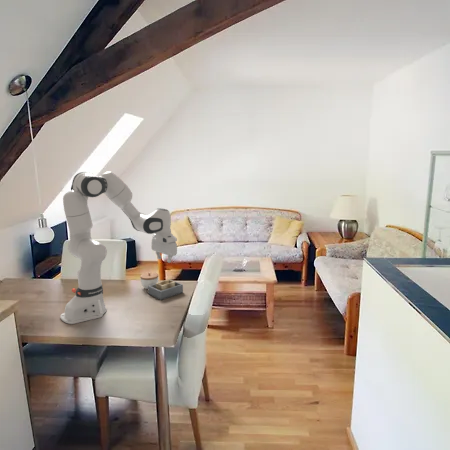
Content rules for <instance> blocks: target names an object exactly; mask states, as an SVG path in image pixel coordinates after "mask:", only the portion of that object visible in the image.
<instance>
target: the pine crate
mask: <svg viewBox="0 0 450 450" xmlns="http://www.w3.org/2000/svg"><path fill="white" fill-rule="evenodd" d="M174 281H175V280H173V281H172V279H167V280H162V281H158V283H156V289H158V290H160V291H162V290H166V289H169V288H172V287H175V282H176V281H175V282H174Z"/></svg>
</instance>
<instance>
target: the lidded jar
mask: <svg viewBox="0 0 450 450" xmlns="http://www.w3.org/2000/svg"><path fill="white" fill-rule="evenodd" d="M139 276H140V277H139V278H140V283H141V286H142V287H143V288H144V289H145V290H148V286H150V285H153V284H156V283H158V282H159V274H158V273H156V272H151V271H149V272H144V273H142V274H141V275H139Z"/></svg>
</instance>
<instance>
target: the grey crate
mask: <svg viewBox="0 0 450 450" xmlns="http://www.w3.org/2000/svg"><path fill="white" fill-rule="evenodd" d="M171 280H172V279H171ZM172 281H174V282H175V287H172V288H169V289H166V290H162V291H160V290H158V289H156V284H153V285H150V286H148V289H147V291H148V295H149V296H151V297H153V298H156V299H158V300H160V301H162V300H166V299H169V298H172V297H174V296H178V295H181V294H183V293H184V285H183V284H182V283H180V282H177V281H175V280H172Z"/></svg>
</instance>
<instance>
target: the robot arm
mask: <svg viewBox="0 0 450 450" xmlns="http://www.w3.org/2000/svg"><path fill="white" fill-rule="evenodd" d="M71 183H72V184H71V187H70V191H66V192H65V194H64V195H63V198H62V201H63V210H64V216H65V219H66V222H67V226H68V229H69V230H68V231H69V242H68V244H67V250H68V252H69V253H70V254H71V255H72V256H73V257H75V258H77V259H79V260H80V262H81V263H80V268H79V270H78V271H77V283H78V287H77V288H71V292H72V293H74V294H75V295H74V296H73V297H72V298H71V299H70V300H69V301H68V302H67V303H66V304H65V306H64V307H65V308H64V312H63V313H61V314H60V316H59V317H60V319H61V321H62V322H64V323H66V324H69V325H74V324H78V323H82V322H88V321H91V320H95V319H100V318H102V317H103V316H104V314H105V313H106V312H107V311H108V309H107V307H106V303H105V301H104V295H103V294H104V288H103V284H102V275H101V274H102V273H101V271H102V270H101V269H102V264H103V261H104V260H105V259H106V257H107V254H108V249H107V247H106V246H105V245H104V244H103V243H102V242H100V241H98V240H95V239H93V238H92V235H91V229H92V228H93V220H92V216H91V213H90V212H91V211H90V209H89V206H88V200H89V198H97V197H99V196H100V195H102V194H104V195H105V196H106V197H107V198H108V199H109V200H110V201H111V202H112V203H113V204H115V205H116V206H117V207H118V208H120V210H122V212H123V213H124V215H126V217H127V218H128V219H129V221H130V223H131V226H132V228H133V229H134V230H136V231H137V232H142V233H145V234H148V235H153V236H152V239H151V250H152V251H153V252H155V254H156V256H157V259H158V260H162V255H161V254H164V255H166V256H167V259H166V262H167V263H169V264H170V263H171V262H172V258H173V257H174V256H177V254H178V245H177V241H178V239H177V237H176V236H175V235H174V234H173V233H172V229H171V225H172V219H171V213H170V211H169V210H168V209H165V208H162V207H161V208H159V207H158V208H155V209H154V211H153V212H151V213H150V214H146V213H142V212H140V211H139V210H138V209H137V208H136V206H134V204H133V203H132V202H131V201H132V199H133V192H132V191H131V189H130V188H129V186H128V185H127V184H126V183H125V182H124V181H123V180H122V179H121V178H120V177H119V176H117V175H116V174H115V173H113V171H106V172H102V174H101V175H95V174H93V173H90V172H86V171H82V172H78V173H76V174H75V176H73V179H72V182H71Z"/></svg>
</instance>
